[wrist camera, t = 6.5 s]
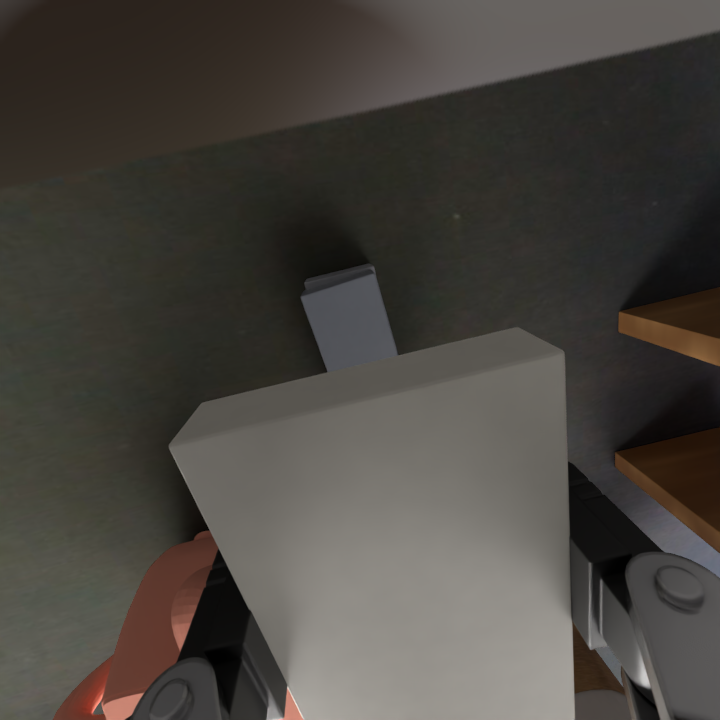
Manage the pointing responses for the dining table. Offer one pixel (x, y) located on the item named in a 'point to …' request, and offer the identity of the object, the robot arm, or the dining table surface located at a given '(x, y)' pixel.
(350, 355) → the grey books
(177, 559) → the teapot
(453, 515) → the white book
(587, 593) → the robot arm
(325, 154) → the dining table surface
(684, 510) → the shelf
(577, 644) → the coffee cup
